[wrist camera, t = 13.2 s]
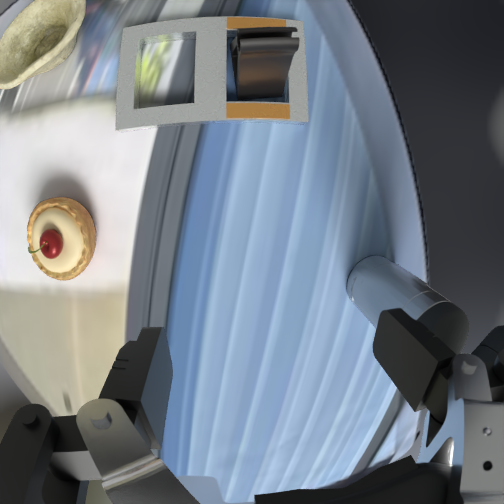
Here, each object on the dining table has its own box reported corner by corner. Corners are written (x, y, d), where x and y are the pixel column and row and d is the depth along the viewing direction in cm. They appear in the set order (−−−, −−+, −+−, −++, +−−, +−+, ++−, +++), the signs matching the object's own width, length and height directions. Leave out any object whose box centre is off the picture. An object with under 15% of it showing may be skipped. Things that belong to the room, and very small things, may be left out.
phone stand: (229, 45, 31) (234, 3, 20) (272, 42, 31) (291, 2, 20) (237, 101, 34) (244, 73, 22) (281, 97, 34) (306, 71, 23)
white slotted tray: (298, 28, 31) (303, 20, 28) (303, 124, 36) (308, 121, 33) (128, 34, 28) (123, 27, 26) (121, 132, 33) (115, 130, 31)
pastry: (112, 259, 39) (91, 284, 31) (55, 275, 38) (29, 299, 30) (89, 183, 35) (60, 191, 26) (32, 206, 34) (0, 219, 26)
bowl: (51, 96, 33) (-16, 86, 22) (95, 7, 27) (29, -8, 16) (53, 98, 25) (-36, 86, 14) (113, -17, 19) (28, -37, 8)
